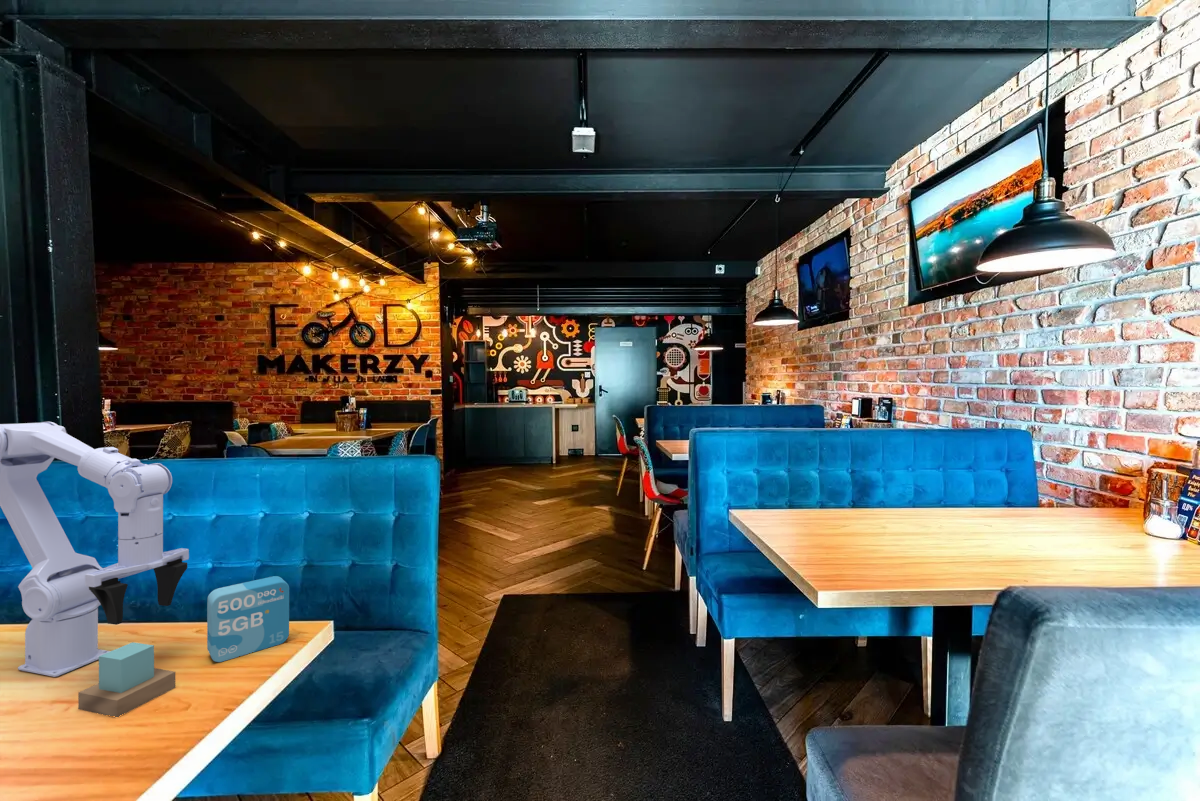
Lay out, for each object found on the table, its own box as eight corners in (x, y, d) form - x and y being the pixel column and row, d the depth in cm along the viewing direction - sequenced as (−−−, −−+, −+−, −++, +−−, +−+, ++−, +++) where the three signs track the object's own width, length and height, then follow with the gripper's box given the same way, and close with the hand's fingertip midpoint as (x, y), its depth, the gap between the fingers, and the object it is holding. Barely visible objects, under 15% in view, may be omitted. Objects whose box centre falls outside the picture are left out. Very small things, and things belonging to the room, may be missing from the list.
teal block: (98, 689, 76) (98, 656, 76) (132, 673, 81) (132, 642, 81) (121, 693, 75) (120, 659, 75) (154, 676, 79) (153, 645, 79)
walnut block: (78, 712, 75) (78, 692, 75) (139, 683, 83) (139, 665, 83) (116, 721, 73) (116, 700, 73) (175, 690, 81) (175, 671, 81)
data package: (211, 665, 88) (211, 597, 88) (207, 656, 91) (207, 590, 91) (289, 641, 96) (289, 579, 96) (283, 634, 99) (283, 573, 99)
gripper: (107, 549, 79) (107, 635, 79) (201, 526, 93) (201, 599, 93) (75, 545, 80) (75, 630, 80) (172, 524, 95) (172, 595, 95)
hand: (140, 613), depth 87 cm, fingers open, 7 cm apart
